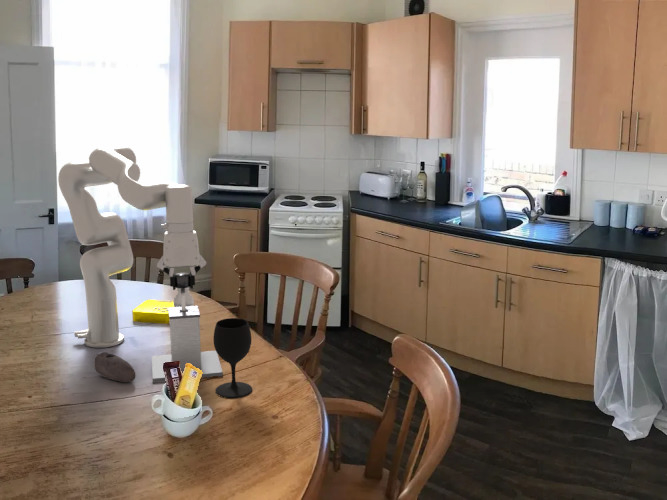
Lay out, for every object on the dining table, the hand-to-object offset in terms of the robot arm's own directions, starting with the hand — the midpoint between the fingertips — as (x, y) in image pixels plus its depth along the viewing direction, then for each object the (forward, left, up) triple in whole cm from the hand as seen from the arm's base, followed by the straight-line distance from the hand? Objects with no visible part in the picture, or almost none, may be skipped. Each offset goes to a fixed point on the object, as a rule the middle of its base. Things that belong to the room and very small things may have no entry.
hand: (182, 287), depth 217 cm
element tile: (-7, +52, -26) cm, 58 cm away
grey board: (0, 0, -25) cm, 25 cm away
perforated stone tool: (-20, -4, -26) cm, 33 cm away
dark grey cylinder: (0, 0, -16) cm, 16 cm away
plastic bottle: (+1, +21, -26) cm, 33 cm away
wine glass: (+12, -20, -26) cm, 35 cm away
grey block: (0, +1, -24) cm, 24 cm away
